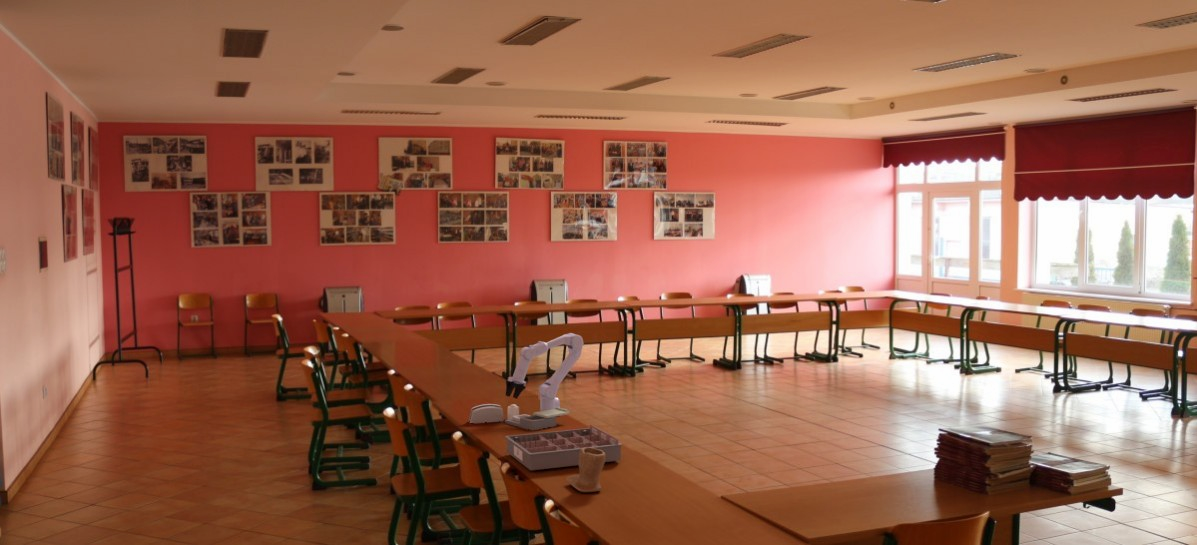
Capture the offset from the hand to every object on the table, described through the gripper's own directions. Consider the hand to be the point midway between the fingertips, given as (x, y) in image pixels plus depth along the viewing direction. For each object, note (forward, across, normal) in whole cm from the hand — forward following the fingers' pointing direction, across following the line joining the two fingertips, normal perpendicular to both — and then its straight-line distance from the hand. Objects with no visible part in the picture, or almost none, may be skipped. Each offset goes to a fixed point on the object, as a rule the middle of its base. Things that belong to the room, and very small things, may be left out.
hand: (511, 397), depth 460 cm
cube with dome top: (+10, -6, +2) cm, 11 cm away
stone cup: (+15, +81, +90) cm, 122 cm away
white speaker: (+15, +6, -5) cm, 17 cm away
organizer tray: (+12, +49, +61) cm, 80 cm away
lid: (0, -1, +23) cm, 23 cm away
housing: (+8, +2, +16) cm, 19 cm away
